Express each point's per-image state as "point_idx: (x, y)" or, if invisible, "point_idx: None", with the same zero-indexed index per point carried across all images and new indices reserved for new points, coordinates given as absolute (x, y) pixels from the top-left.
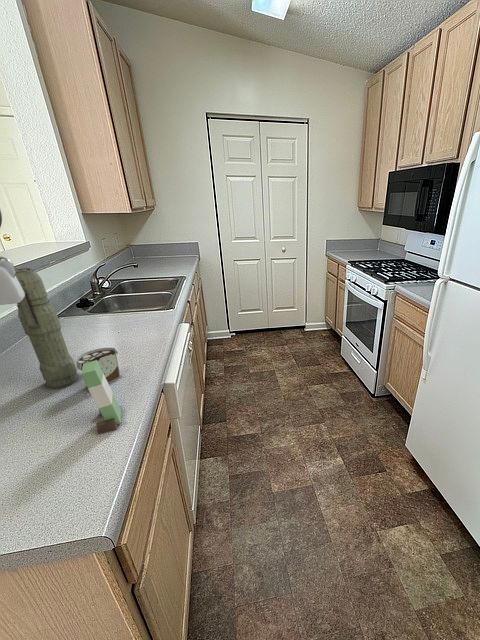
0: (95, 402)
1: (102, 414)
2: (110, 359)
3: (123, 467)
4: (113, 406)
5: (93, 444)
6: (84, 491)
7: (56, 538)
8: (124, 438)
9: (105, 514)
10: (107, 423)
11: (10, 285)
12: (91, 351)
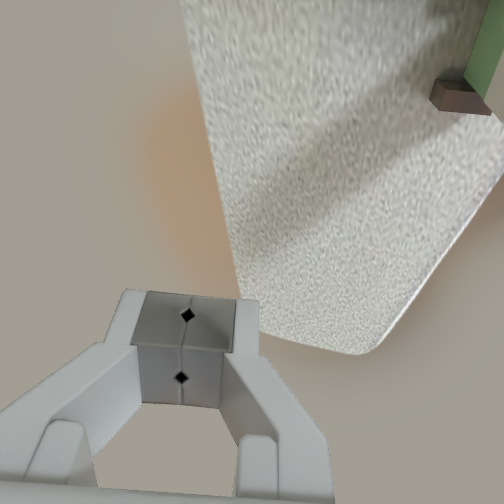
0: (492, 111)
1: (478, 91)
2: None
3: (434, 258)
4: None
5: (403, 143)
6: (356, 281)
7: (309, 341)
8: (477, 160)
9: (375, 336)
10: (470, 113)
11: None
12: None
